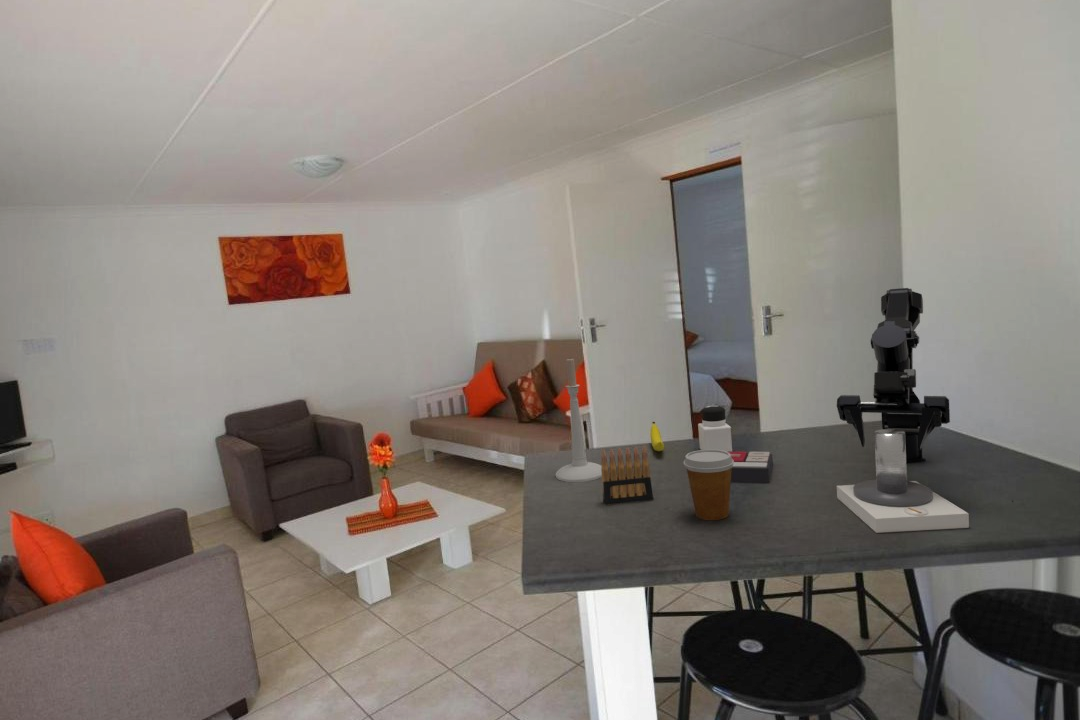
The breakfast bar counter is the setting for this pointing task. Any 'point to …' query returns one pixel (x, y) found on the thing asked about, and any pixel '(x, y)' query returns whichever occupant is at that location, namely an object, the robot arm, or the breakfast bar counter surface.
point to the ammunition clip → (626, 478)
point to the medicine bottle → (714, 430)
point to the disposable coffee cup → (710, 482)
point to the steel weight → (891, 461)
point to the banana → (656, 438)
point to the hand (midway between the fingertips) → (890, 447)
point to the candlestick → (577, 440)
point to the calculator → (751, 467)
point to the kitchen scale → (901, 508)
